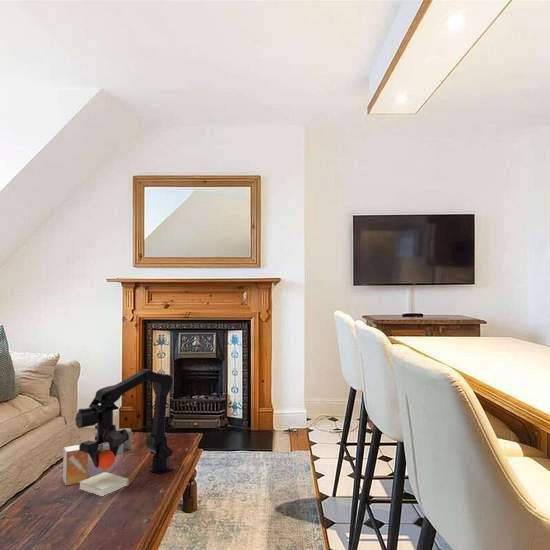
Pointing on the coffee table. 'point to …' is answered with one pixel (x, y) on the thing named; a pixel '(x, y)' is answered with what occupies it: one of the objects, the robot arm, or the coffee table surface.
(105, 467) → the clementine
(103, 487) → the book
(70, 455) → the small box
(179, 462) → the coffee table surface
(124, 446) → the digital clock
